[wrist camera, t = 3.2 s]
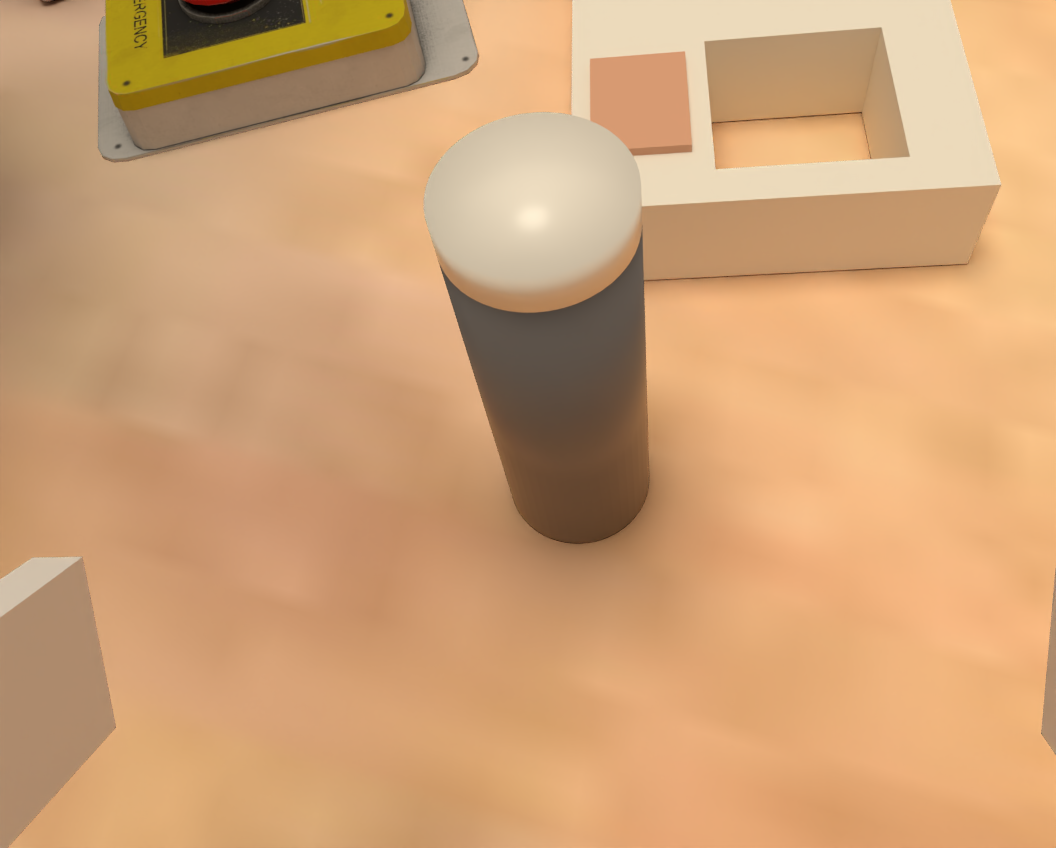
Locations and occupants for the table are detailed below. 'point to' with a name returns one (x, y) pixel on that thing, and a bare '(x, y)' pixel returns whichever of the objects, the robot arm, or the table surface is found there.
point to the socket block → (789, 91)
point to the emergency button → (262, 63)
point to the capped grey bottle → (551, 311)
